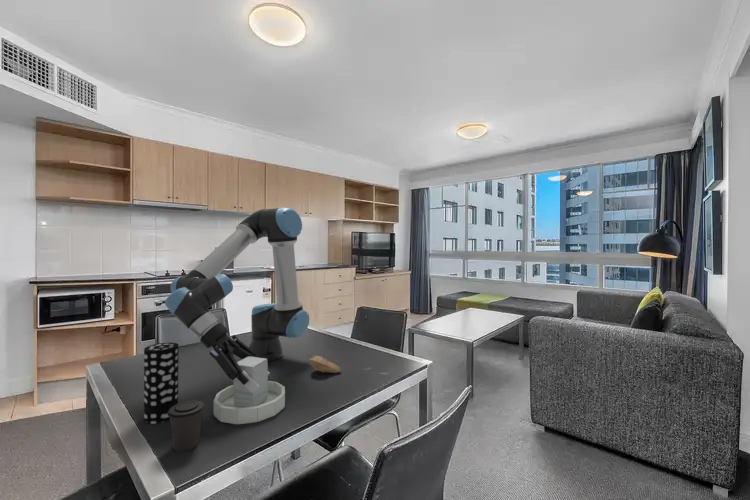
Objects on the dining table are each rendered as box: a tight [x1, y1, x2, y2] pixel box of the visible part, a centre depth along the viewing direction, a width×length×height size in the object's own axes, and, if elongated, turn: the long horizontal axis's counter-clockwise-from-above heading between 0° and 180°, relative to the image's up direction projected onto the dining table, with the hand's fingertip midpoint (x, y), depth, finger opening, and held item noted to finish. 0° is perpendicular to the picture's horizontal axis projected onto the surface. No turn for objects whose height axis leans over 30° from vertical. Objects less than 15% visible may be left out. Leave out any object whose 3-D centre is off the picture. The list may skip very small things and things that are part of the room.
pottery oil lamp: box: [308, 355, 342, 374], centre depth 130 cm, size 9×12×7 cm
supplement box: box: [232, 356, 269, 407], centre depth 103 cm, size 7×7×13 cm
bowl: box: [213, 380, 286, 425], centre depth 103 cm, size 20×20×4 cm
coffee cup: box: [167, 400, 206, 452], centre depth 83 cm, size 8×8×10 cm
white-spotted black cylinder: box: [143, 342, 179, 425], centre depth 97 cm, size 8×8×20 cm
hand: (261, 382), depth 103 cm, fingers open, 9 cm apart
